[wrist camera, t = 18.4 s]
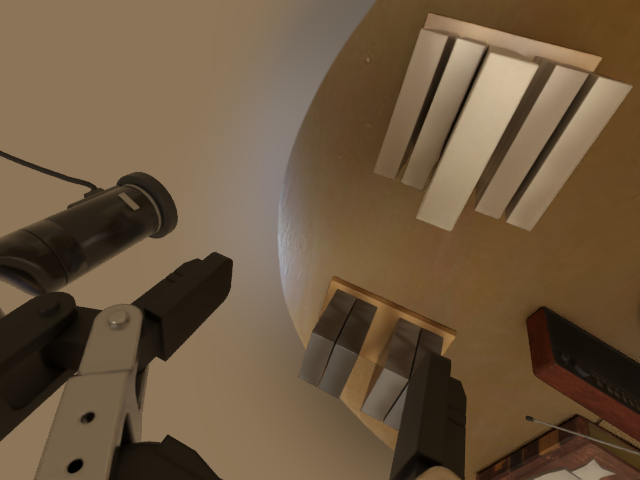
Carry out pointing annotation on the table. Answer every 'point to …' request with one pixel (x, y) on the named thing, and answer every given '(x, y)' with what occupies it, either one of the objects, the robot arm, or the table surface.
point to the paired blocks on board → (370, 347)
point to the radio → (586, 372)
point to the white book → (476, 133)
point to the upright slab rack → (523, 129)
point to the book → (570, 457)
